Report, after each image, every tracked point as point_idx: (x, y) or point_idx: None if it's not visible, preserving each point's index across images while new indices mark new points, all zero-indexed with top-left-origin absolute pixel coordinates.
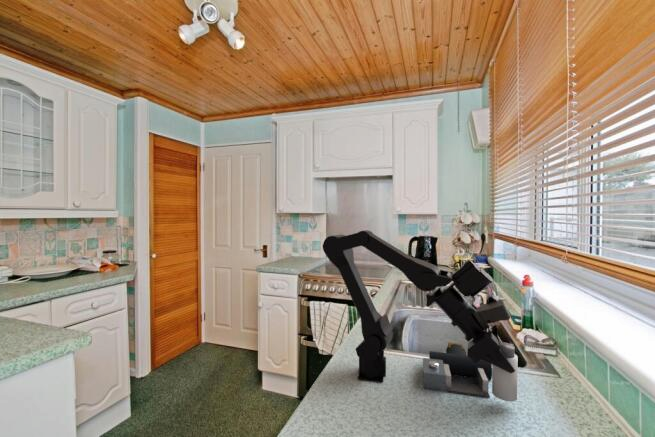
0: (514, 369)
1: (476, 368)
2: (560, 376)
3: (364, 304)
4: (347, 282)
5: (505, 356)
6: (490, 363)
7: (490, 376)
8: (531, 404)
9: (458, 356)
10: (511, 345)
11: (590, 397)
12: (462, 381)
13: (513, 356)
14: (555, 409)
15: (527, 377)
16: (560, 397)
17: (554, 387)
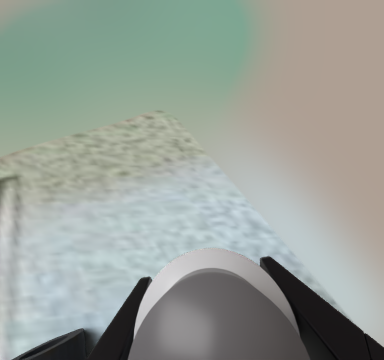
0: (268, 258)
1: None
2: (12, 175)
3: None
4: None
5: (324, 335)
6: (41, 357)
7: (83, 334)
8: (160, 222)
9: None
10: (177, 310)
11: (81, 135)
12: None
13: (235, 273)
14: (154, 182)
15: (37, 236)
16: (103, 175)
17: (66, 185)
